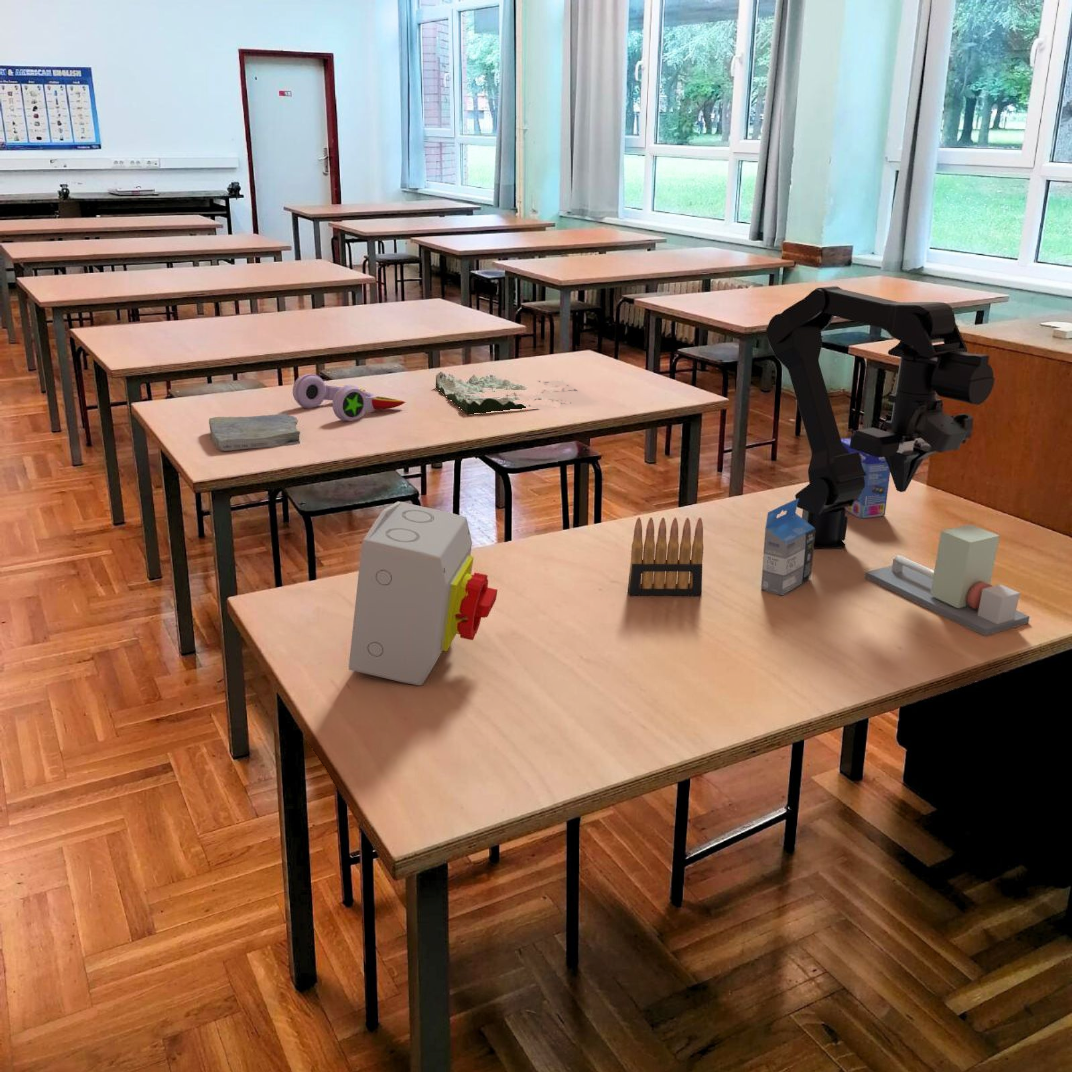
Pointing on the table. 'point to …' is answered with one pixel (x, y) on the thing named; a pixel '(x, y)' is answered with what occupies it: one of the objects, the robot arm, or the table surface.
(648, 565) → the ammunition clip
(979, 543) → the pale green upright block
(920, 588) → the grey rail base
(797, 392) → the robot arm
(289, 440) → the fossil
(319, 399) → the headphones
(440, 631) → the electrical switch box
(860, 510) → the ink cartridge box
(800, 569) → the label tape box
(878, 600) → the table surface
